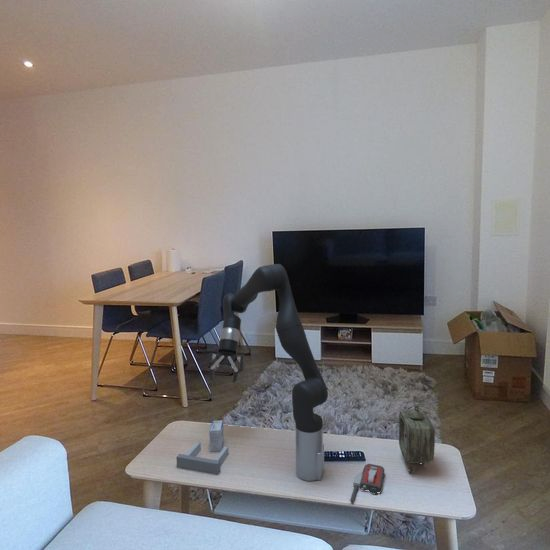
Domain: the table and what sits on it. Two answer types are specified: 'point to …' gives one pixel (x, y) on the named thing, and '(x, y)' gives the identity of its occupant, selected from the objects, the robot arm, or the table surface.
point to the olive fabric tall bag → (416, 436)
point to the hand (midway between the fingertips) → (222, 381)
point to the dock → (201, 460)
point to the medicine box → (216, 435)
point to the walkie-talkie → (369, 479)
